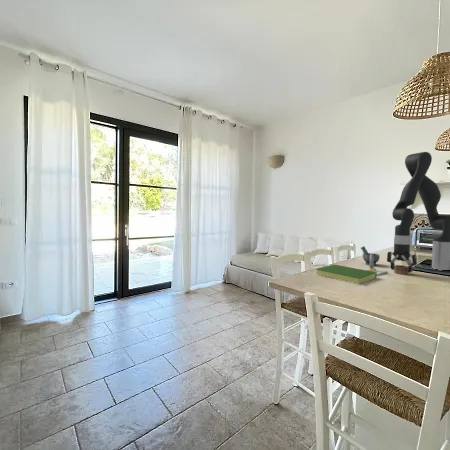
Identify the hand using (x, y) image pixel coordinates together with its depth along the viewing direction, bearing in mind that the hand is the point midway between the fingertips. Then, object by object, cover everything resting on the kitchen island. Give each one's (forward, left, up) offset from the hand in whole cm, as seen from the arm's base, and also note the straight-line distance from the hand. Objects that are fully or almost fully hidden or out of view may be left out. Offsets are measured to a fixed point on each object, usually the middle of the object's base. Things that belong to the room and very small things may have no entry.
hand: (401, 271), depth 144 cm
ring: (0, 0, -1) cm, 1 cm away
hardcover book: (+32, -15, -2) cm, 35 cm away
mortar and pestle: (-9, -22, -1) cm, 24 cm away
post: (+11, -11, -1) cm, 16 cm away
